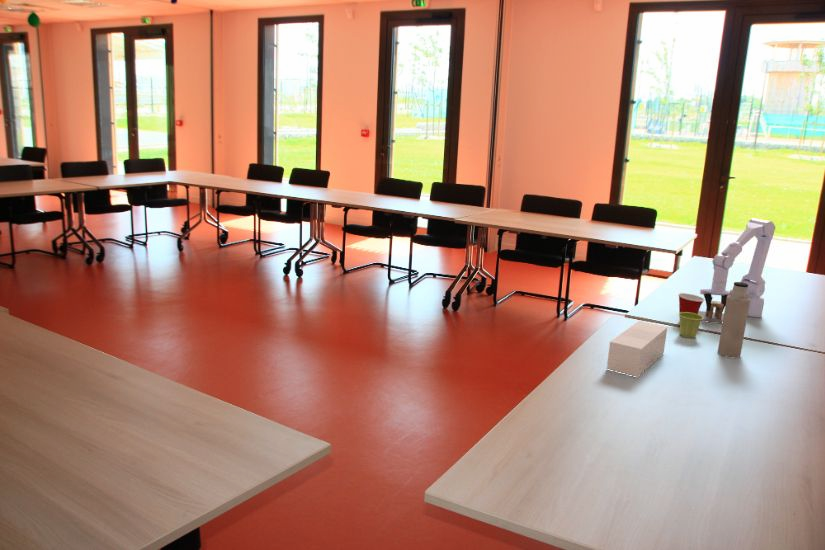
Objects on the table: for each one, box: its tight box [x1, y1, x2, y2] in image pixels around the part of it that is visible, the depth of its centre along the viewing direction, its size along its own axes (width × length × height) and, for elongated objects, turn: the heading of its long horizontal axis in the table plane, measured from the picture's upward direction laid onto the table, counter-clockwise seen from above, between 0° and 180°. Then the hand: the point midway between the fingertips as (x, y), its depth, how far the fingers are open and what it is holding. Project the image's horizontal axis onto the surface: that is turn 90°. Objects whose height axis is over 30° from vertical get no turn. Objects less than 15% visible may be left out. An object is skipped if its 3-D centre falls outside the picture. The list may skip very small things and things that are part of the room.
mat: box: [698, 310, 724, 324], centre depth 310 cm, size 16×16×1 cm
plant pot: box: [678, 312, 703, 339], centre depth 282 cm, size 9×9×9 cm
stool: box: [705, 300, 724, 319], centre depth 310 cm, size 5×5×7 cm
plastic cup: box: [677, 292, 705, 314], centre depth 300 cm, size 11×11×12 cm
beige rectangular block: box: [606, 320, 668, 378], centre depth 249 cm, size 32×11×11 cm, turn 145°
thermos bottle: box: [717, 281, 750, 358], centre depth 260 cm, size 8×8×28 cm
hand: (714, 310), depth 309 cm, fingers closed on stool, 5 cm apart
